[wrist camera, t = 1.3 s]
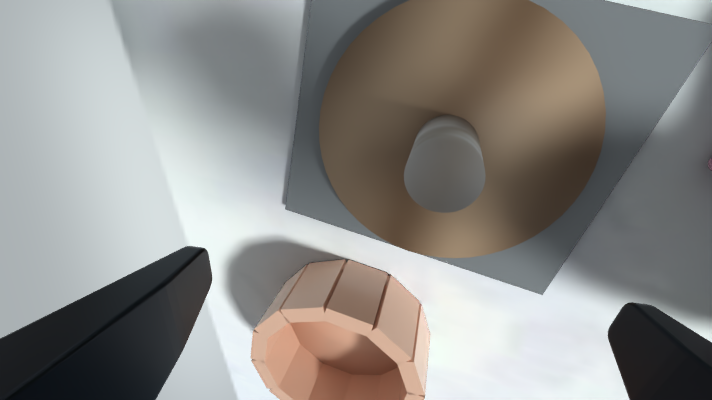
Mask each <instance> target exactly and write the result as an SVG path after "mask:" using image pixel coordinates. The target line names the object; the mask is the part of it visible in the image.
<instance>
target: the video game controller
mask: <svg viewBox="0 0 712 400" xmlns="http://www.w3.org/2000/svg"><path fill="white" fill-rule="evenodd" d="M708 167H709V169H710V170H712V158H710V159H709V160H708Z"/></svg>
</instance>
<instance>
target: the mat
mask: <svg viewBox="0 0 712 400" xmlns="http://www.w3.org/2000/svg"><path fill="white" fill-rule="evenodd" d="M407 1H409V0H311V8H310V16H309V24H308V32H307V40H306V48H305V56H304V64H303V72H302V80H301V88H300V96H299V104H298V112H297V120H296V128H295V136H294V144H293V152H292V160H291V168H290V176H289V184H288V192H287V200H286V208H285V209H286V210H289V211H292V212H295V213H298V214H301V215H304V216H307V217H310V218H313V219H316V220H319V221H322V222H325V223H328V224H331V225H334V226H337V227H340V228H343V229H346V230H349V231H352V232H355V233H358V234H361V235H364V236H367V237H370V238H373V239H376V240H379V241H382V242H385V243H388V244H391V243H389V242H387V241H385V240H383V239H382V238H380V237H379V236H377V235H376V234H374V233H373V232H371V231H370V230H368V229H367V228H366V227H365V226H364V225H362V224H361V223H360V222H359V221H358V220H357V219H356V218H355V217H354V216H353V215H352V214H351V213H350V212H349V211H348V209H347V208H346V207H345V205H344V204H343V203H342V201H341V200H340V199H339V197H338V195H337V194H336V192H335V190H334V188H333V187H332V185H331V182H330V180H329V178H328V175H327V173H326V170H325V166H324V163H323V159H322V155H321V149H320V142H319V120H320V110H321V105H322V101H323V96H324V92H325V90H326V87H327V84H328V81H329V79H330V76H331V74H332V72H333V70H334V69H335V67H336V65H337V63H338V61H339V59H340V58H341V56H342V55H343V54H344V52H345V51H346V49H347V48H348V46H349V45H350V44H351V43H352V42H353V41H354V40H355V38H356V37H357V36H358V35H359V34H360V33H361V32H362V31H363V30H364V29H365V28H366V27H368V26H369V25H370V24H371V23H372V22H374V21H375V20H376V19H377V18H378V17H380V16H382V15H383V14H385V13H386V12H388V11H389V10H391V9H393V8H394V7H396V6H398V5H400V4H402V3H405V2H407ZM530 1H532V2H534V3H536V4H538V5H540V6H542V7H544V8H545V9H547V10H548V11H549V12H551V13H552V14H554V15H555V16H556V17H558V18H559V19H560V20H562V21H563V22H564V23H565V24H566V25H567V26H568V27H569V28H570V29H571V30H572V31H573V32H574V33H575V34H576V35H577V37H578V38H579V39H580V41H581V42H582V44H583V45H584V47H585V48H586V49H587V51H588V52H589V54H590V56H591V58H592V60H593V62H594V64H595V67H596V69H597V71H598V73H599V77H600V81H601V84H602V88H603V91H604V99H605V108H606V121H605V134H604V139H603V144H602V149H601V153H600V155H599V158H598V161H597V164H596V166H595V169H594V171H593V173H592V175H591V177H590V179H589V181H588V183H587V184H586V186H585V188H584V189H583V191H582V192H581V193H580V195H579V196H578V198H577V199H576V200H575V202H574V203H573V204H572V205H571V206H570V207H569V208H568V209H567V210H566V212H565V213H564V214H563V215H562V216H561V217H559V218H558V219H557V220H556V221H555V222H554V223H552V224H551V225H550V226H549V227H547V228H546V229H544V230H543V231H541V232H540V233H538V234H537V235H535V236H534V237H532V238H530V239H528V240H526V241H524V242H522V243H520V244H518V245H516V246H513V247H511V248H508V249H505V250H503V251H499V252H496V253H492V254H488V255H483V256H476V257H469V258H442V257H434V256H428V255H424V256H427V257H430V258H433V259H436V260H439V261H442V262H445V263H448V264H451V265H454V266H457V267H460V268H463V269H466V270H469V271H472V272H475V273H478V274H481V275H484V276H487V277H490V278H493V279H496V280H499V281H502V282H505V283H508V284H511V285H514V286H517V287H520V288H523V289H526V290H529V291H532V292H535V293H538V294H541V295H543V293H544V292H545V290H546V289H547V287H548V286H549V284H550V283H551V281H552V280H553V278H554V277H555V275H556V274H557V272H558V271H559V269H560V268H561V266H562V265H563V263H564V262H565V260H566V259H567V257H568V256H569V254H570V253H571V251H572V250H573V248H574V247H575V245H576V244H577V242H578V241H579V239H580V238H581V236H582V235H583V234H584V232H585V231H586V229H587V228H588V226H589V225H590V223H591V222H592V220H593V219H594V217H595V216H596V214H597V213H598V211H599V210H600V208H601V207H602V205H603V204H604V202H605V201H606V199H607V198H608V196H609V195H610V193H611V192H612V190H613V189H614V187H615V186H616V184H617V183H618V181H619V180H620V178H621V177H622V175H623V174H624V172H625V171H626V169H627V168H628V166H629V165H630V163H631V162H632V160H633V159H634V157H635V156H636V154H637V153H638V151H639V150H640V148H641V147H642V145H643V144H644V142H645V141H646V139H647V138H648V136H649V135H650V133H651V132H652V130H653V129H654V127H655V126H656V124H657V123H658V121H659V120H660V118H661V117H662V115H663V114H664V112H665V111H666V109H667V108H668V106H669V105H670V103H671V102H672V100H673V99H674V97H675V96H676V95H677V93H678V92H679V90H680V89H681V87H682V86H683V84H684V83H685V81H686V80H687V78H688V77H689V75H690V74H691V72H692V71H693V69H694V68H695V66H696V65H697V63H698V62H699V60H700V59H701V57H702V56H703V54H704V53H705V51H706V50H707V48H708V47H709V45H710V44H711V42H712V24H709V23H705V22H700V21H696V20H691V19H687V18H682V17H678V16H673V15H669V14H664V13H660V12H655V11H651V10H646V9H641V8H637V7H632V6H628V5H623V4H619V3H614V2H610V1H605V0H530ZM391 245H393V244H391ZM394 246H395V245H394ZM397 247H398V246H397ZM421 255H422V254H421Z"/></svg>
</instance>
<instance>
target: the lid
mask: <svg viewBox="0 0 712 400" xmlns="http://www.w3.org/2000/svg"><path fill="white" fill-rule="evenodd" d="M605 121H606V108H605V99H604V91H603V88H602V84H601V81H600V77H599V73H598V71H597V69H596V67H595V64H594V62H593V60H592V58H591V56H590V54H589V52H588V51H587V49H586V48H585V47H584V45H583V44H582V42H581V41H580V39H579V38H578V37H577V35H576V34H575V33H574V32H573V31H572V30H571V29H570V28H569V27H568V26H567V25H566V24H565V23H564V22H563V21H562V20H560V19H559V18H558V17H556V16H555V15H554V14H552V13H551V12H549V11H548V10H547V9H545V8H544V7H542V6H540V5H538V4H536V3H534V2H532V1H530V0H409V1H407V2H405V3H402V4H400V5H398V6H396V7H394V8H393V9H391V10H389V11H388V12H386V13H385V14H383V15H382V16H380V17H378V18H377V19H376V20H375V21H374V22H372V23H371V24H370V25H369V26H368V27H366V28H365V29H364V30H363V31H362V32H361V33H360V34H359V35H358V36H357V37H356V38H355V40H354V41H353V42H352V43H351V44H350V45H349V46H348V48H347V49H346V51H345V52H344V54H343V55H342V56H341V58H340V59H339V61H338V63H337V65H336V67H335V69H334V70H333V72H332V74H331V76H330V79H329V81H328V84H327V87H326V90H325V92H324V96H323V101H322V105H321V110H320V120H319V142H320V149H321V155H322V159H323V163H324V166H325V170H326V173H327V175H328V178H329V180H330V182H331V185H332V187H333V188H334V190H335V192H336V194H337V195H338V197H339V199H340V200H341V201H342V203H343V204H344V205H345V207H346V208H347V209H348V211H349V212H350V213H351V214H352V215H353V216H354V217H355V218H356V219H357V220H358V221H359V222H360V223H361V224H362V225H364V226H365V227H366V228H367V229H368V230H370V231H371V232H373V233H374V234H376V235H377V236H379V237H380V238H382V239H383V240H385V241H387V242H389V243H391V244H393V245H395V246H398V247H400V248H403V249H405V250H408V251H411V252H415V253H418V254H422V255H428V256H434V257H442V258H469V257H476V256H483V255H488V254H492V253H496V252H499V251H503V250H505V249H508V248H511V247H513V246H516V245H518V244H520V243H522V242H524V241H526V240H528V239H530V238H532V237H534V236H535V235H537V234H538V233H540V232H541V231H543V230H544V229H546V228H547V227H549V226H550V225H551V224H552V223H554V222H555V221H556V220H557V219H558V218H559V217H561V216H562V215H563V214H564V213H565V212H566V210H567V209H568V208H569V207H570V206H571V205H572V204H573V203H574V202H575V200H576V199H577V198H578V196H579V195H580V193H581V192H582V191H583V189H584V188H585V186H586V184H587V183H588V181H589V179H590V177H591V175H592V173H593V171H594V169H595V166H596V164H597V161H598V158H599V155H600V153H601V149H602V144H603V139H604V134H605Z"/></svg>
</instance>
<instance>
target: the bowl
mask: <svg viewBox="0 0 712 400" xmlns="http://www.w3.org/2000/svg"><path fill="white" fill-rule="evenodd" d="M387 274H388V273H386V272H383V271H381V270H378V269H375V268H372V267H369V266H366V265H363V264H360V263H357V262H354V261H352V260H348V261H346V260H345V259H342V260H333V261H324V262H314V263H309V265H308V264H307V265H305V266H304V267H303V268H302V269H301V270H299V271H298V272H297V273H296V274H295V275H294V276H292V277H291V278H290V279H289V280H288V281H286V282H285V284H284V285H283V287H282V288H281V290H280V291H279V293H278V294H277V296H276V297H275V299H274V300H273V302H272V303H271V305H270V306H269V308H268V309H267V311H266V312H265V314H264V315H263V317H262V318H261V320H260V321H259V323H258V324H257V326H256V327H255V329H254V330H253V337H252V348H251V358H252V360H251V361H252V363H253V364H254V366H255V368H256V370H257V371H258V373H259V375H260V377H261V379H262V380H263V382H264V384H265V386H266V387H267V388H269V389H270V390H269V391H270V392H271V393H273V394H274V395H275V396H276V397H277V398H279V399H280V400H424V398H425V389H426V377H427V366H428V354H429V343H430V332H429V329H428V325H427V322H426V318H425V315H424V312H423V308H422V305H421V304H419V303H420V302H419V301H418V300H417V299H416V298H415V297H414V296H413V295H412V294H411V293H410V292H409V291H408V290H407V289H406V288H405V287H403V286H402V285H401V284H400V283H399V282H398V281H397V280H396V279H395V278H394V277H393V276H392V275H390V276H388V275H387Z"/></svg>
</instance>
